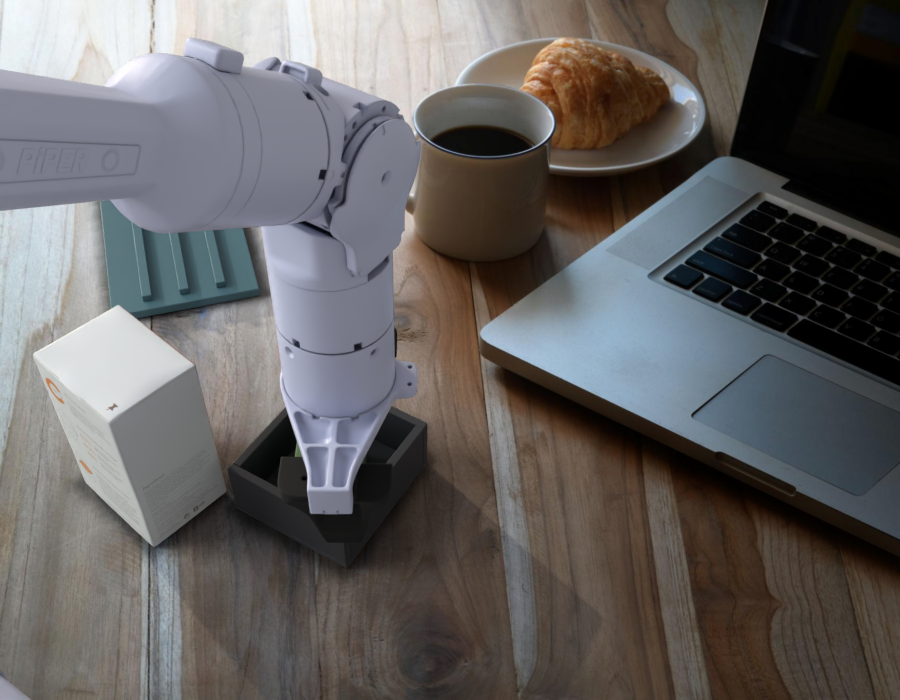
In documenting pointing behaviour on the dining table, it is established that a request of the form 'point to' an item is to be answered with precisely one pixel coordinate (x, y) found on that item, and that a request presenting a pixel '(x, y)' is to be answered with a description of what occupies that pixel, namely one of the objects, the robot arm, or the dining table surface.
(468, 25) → the dining table surface
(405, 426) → the dark grey open tray
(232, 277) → the drainboard
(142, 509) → the small box
